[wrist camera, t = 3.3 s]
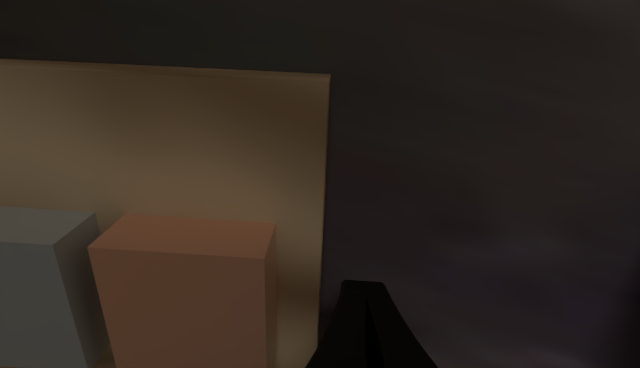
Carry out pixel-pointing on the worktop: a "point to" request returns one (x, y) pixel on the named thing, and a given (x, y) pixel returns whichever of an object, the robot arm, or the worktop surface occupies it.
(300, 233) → the board
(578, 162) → the worktop surface
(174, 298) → the terracotta tile
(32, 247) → the slate tile
